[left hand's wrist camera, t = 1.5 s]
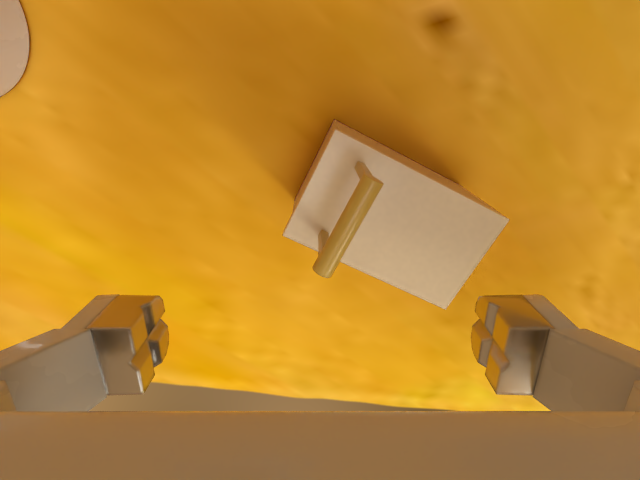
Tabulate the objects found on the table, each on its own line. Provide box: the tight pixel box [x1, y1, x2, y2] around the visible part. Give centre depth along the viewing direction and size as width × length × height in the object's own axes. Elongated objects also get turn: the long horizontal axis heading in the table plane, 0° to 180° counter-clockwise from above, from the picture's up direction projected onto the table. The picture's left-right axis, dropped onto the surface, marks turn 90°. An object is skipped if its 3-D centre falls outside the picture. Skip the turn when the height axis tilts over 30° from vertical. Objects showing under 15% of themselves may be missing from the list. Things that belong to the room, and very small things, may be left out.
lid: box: [283, 128, 509, 309], centre depth 30 cm, size 17×10×8 cm, turn 63°
